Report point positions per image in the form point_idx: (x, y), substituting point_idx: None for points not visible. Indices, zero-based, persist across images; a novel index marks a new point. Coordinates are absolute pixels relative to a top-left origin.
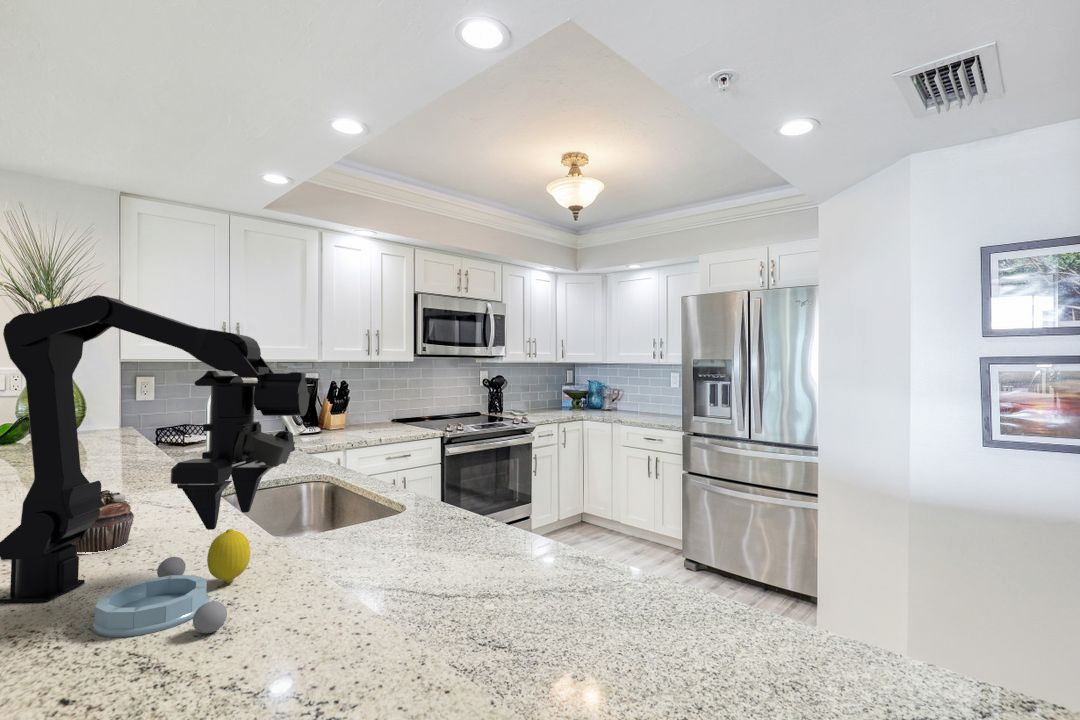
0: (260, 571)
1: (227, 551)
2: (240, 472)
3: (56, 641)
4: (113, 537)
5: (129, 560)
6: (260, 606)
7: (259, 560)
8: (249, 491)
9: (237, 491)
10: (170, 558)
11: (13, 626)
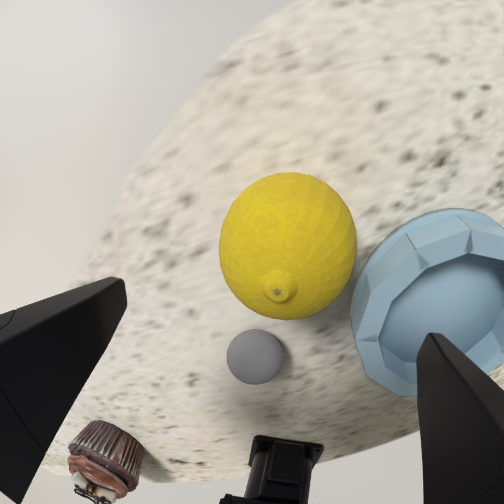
0: (215, 154)
1: (354, 242)
2: (2, 461)
3: None
4: (115, 443)
5: (155, 412)
6: (467, 84)
7: (134, 192)
8: (51, 342)
9: (72, 394)
10: (255, 377)
11: (397, 437)
